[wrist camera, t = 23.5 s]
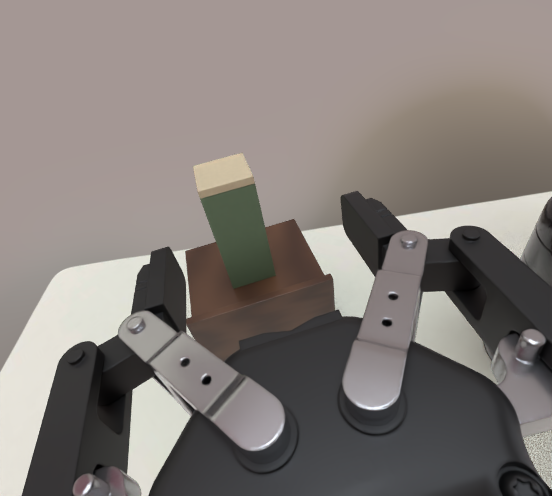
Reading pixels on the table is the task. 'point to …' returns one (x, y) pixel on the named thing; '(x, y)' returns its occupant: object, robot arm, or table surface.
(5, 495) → the table surface
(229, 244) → the carton
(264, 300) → the shelf
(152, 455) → the table surface
